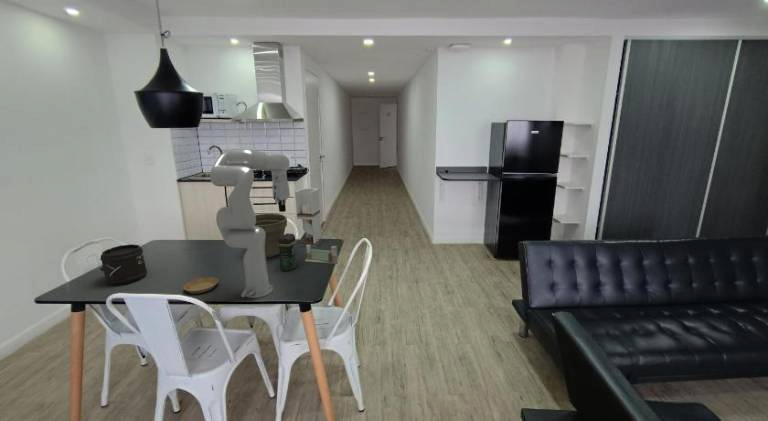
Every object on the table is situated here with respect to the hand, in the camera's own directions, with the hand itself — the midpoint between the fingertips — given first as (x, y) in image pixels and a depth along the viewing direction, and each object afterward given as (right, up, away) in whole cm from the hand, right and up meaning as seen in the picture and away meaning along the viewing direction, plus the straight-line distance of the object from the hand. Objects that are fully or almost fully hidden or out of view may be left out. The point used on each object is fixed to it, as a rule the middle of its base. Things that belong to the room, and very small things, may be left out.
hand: (282, 211), depth 188 cm
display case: (+8, -21, +35) cm, 42 cm away
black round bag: (-76, -35, -13) cm, 84 cm away
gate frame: (+20, -28, +6) cm, 35 cm away
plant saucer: (-32, -37, -23) cm, 54 cm away
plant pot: (-14, -25, +19) cm, 35 cm away
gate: (+20, -27, +6) cm, 35 cm away
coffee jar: (+4, -31, -2) cm, 31 cm away
